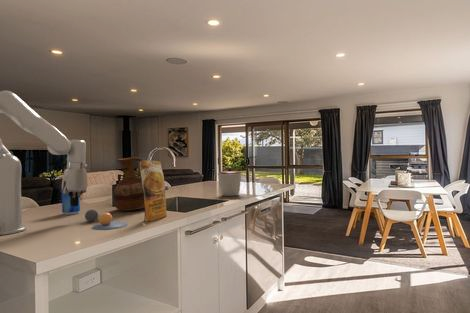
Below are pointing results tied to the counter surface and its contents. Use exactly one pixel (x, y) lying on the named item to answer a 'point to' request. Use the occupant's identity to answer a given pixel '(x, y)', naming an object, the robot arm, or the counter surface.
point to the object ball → (105, 218)
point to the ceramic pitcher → (129, 187)
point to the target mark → (109, 226)
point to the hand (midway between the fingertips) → (74, 205)
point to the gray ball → (91, 215)
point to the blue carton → (69, 205)
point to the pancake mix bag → (153, 189)
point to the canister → (229, 182)
